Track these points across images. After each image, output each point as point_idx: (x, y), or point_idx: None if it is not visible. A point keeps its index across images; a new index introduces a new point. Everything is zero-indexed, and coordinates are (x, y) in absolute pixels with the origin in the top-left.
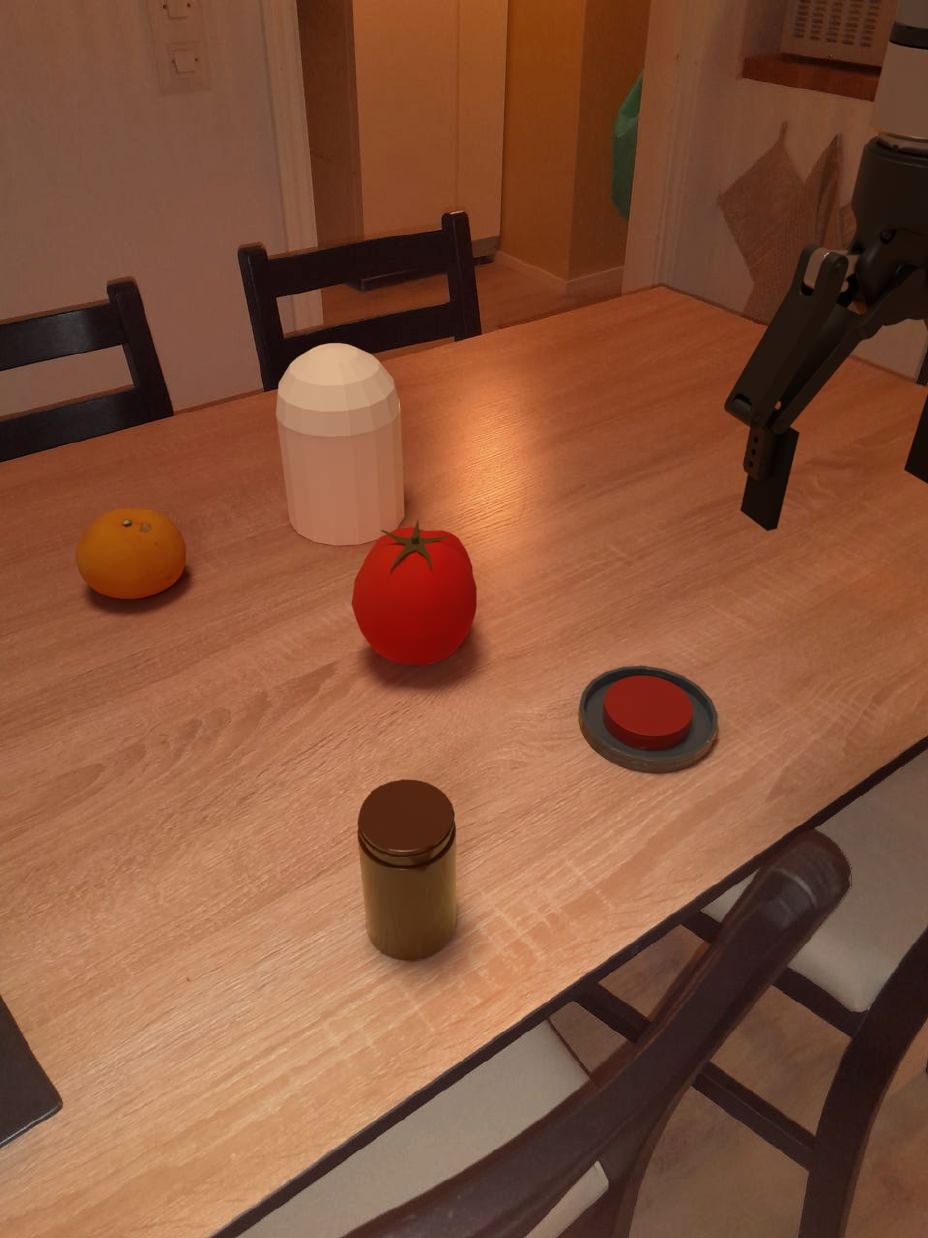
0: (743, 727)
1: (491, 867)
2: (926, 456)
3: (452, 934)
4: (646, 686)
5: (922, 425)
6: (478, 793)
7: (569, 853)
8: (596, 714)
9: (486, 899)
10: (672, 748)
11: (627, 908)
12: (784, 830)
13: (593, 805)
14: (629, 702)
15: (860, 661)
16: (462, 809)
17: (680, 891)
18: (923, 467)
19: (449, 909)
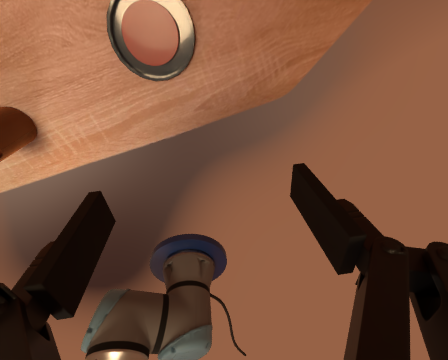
0: (208, 59)
1: (52, 109)
2: (300, 196)
3: (35, 137)
4: (154, 15)
5: (315, 200)
6: (42, 59)
7: (92, 112)
8: (122, 17)
9: (50, 124)
10: (160, 65)
11: (114, 143)
12: (193, 127)
13: (108, 87)
14: (138, 28)
15: (306, 27)
16: (33, 68)
17: (138, 142)
18: (296, 189)
19: (21, 147)
